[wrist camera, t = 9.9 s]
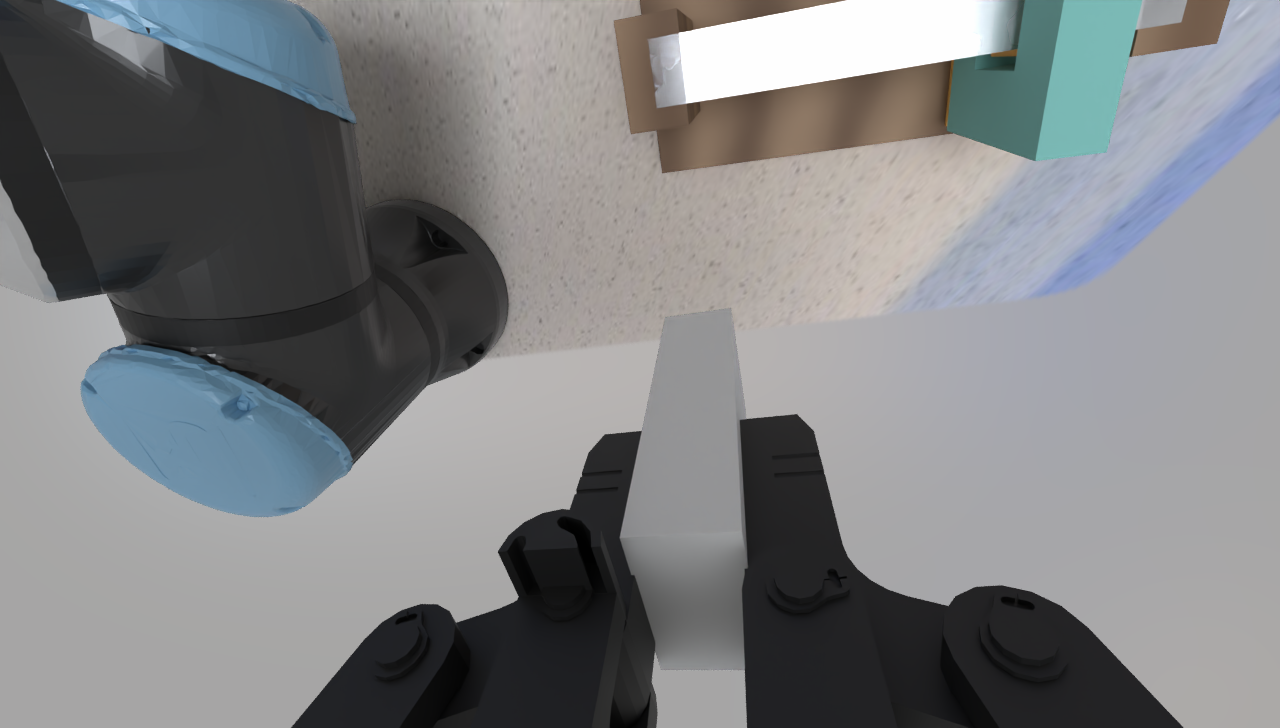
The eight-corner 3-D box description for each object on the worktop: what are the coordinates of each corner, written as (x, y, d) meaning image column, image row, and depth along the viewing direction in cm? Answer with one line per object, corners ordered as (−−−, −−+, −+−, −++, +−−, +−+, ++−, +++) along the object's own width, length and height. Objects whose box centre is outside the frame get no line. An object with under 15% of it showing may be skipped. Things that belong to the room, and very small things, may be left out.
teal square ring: (946, 130, 31) (1035, 161, 22) (971, -112, 26) (1100, -208, 17) (994, 124, 31) (1106, 152, 21) (1029, -124, 26) (1196, -232, 16)
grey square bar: (664, 104, 29) (656, 108, 27) (656, 41, 28) (647, 39, 25) (1135, 26, 25) (1181, 22, 22) (1154, -55, 23) (1205, -69, 21)
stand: (664, 169, 38) (641, 202, 29) (638, -36, 33) (599, -72, 24) (1067, 113, 33) (1189, 133, 24) (1117, -143, 27) (1302, -244, 18)
